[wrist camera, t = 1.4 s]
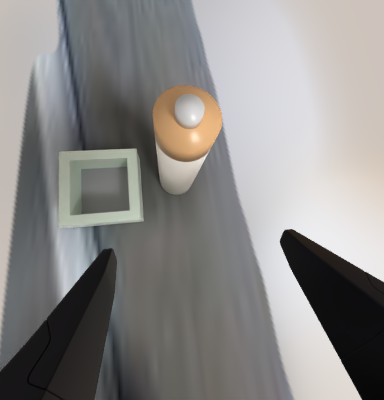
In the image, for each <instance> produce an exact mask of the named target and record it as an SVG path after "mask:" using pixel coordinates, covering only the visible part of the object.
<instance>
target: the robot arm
mask: <svg viewBox="0 0 384 400" xmlns="http://www.w3.org/2000/svg"><path fill="white" fill-rule="evenodd" d="M280 244H281V247H282V249H283V252H284V254H285V256H286V259H287V261H288V263H289V266H290V268H291V270H292V272H293V274H294V276H295V277H296V279H297V281H298V283H299V285H300V287H301V289H302V290H303V292H304V294H305V296H306V297H307V299H308V301H309V303H310V305H311V307H312V308H313V310H314V312H315V314H316V316H317V318H318V320H319V321H320V323H321V325H322V327H323V329H324V331H325V332H326V334H327V336H328V338H329V340H330V341H331V343H332V345H333V347H334V349H335V351H336V352H337V354H338V356H339V358H340V359H341V362H342V364H343V365H344V367H345V369H346V371H347V373H348V374H349V376H350V378H351V380H352V382H353V384H354V385H355V387H356V389H357V391H358V393H359V395H360V396H361V398H362V400H384V282H382V281H381V280H379V279H377V278H375V277H373V276H372V275H370V274H369V273H367V272H364V271H363V270H361V269H360V268H358V267H356V266H355V265H353V264H351V263H350V262H347V261H346V260H344V259H343V258H341V257H339V256H338V255H336V254H334V253H332V252H331V251H329V250H327V249H326V248H324V247H322V246H320V245H318V244H317V243H315V242H314V241H312V240H310V239H308V238H307V237H305V236H303V235H301V234H300V233H298V232H296V231H295V230H292V229H289V230H285V231H284V232H283V234H282V237H281V239H280ZM116 267H117V260H116V256H115V253H114V250H113V249H112V248H109V249H104V250H102V252H101V253H100V254H99V255H98V257H97V258H96V259H95V260H94V261H93V263H92V264H91V265H90V266H89V268H88V269H87V270H86V271H85V272H84V274H83V275H82V276H81V277H80V279H79V280H78V281H77V282H76V283H75V285H74V286H73V287H72V288H71V290H70V291H69V292H68V293H67V294H66V296H65V297H64V298H63V299H62V301H61V302H60V303H59V304H58V305H57V307H56V308H55V309H54V310H53V312H52V313H51V314H50V315H49V316H48V318H47V320H45V321H44V322H43V324H42V325H41V326H40V327H39V329H38V330H37V331H36V332H35V333H34V335H33V336H32V337H31V338H30V339H29V340H28V342H27V343H26V344H25V345H24V346H23V347H22V348H21V349H20V351H19V352H18V353H17V354H16V355H15V356H14V357H13V358H12V359H11V360H10V362H9V363H8V364H7V365H6V366H5V367H4V368H3V369H2V370H1V371H0V400H94V398H95V393H96V387H97V382H98V377H99V372H100V367H101V362H102V356H103V351H104V346H105V341H106V336H107V331H108V325H109V320H110V315H111V310H112V305H113V299H114V293H115V280H116Z"/></svg>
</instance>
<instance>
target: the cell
mask: <svg viewBox="0 0 384 400" xmlns="http://www.w3.org/2000/svg"><path fill="white" fill-rule="evenodd" d="M153 123H154V132H155V141H156V150H157V159H158V168H159V177H160V183H161V186H162V188H163V189H164V190H165V191H166V192H167V193H169V194H172V195H181V194H183V193H185V192H187V191H188V190H189V188H190V187H191V185H192V183H193V181H194V179H195V177H196V175H197V174H198V172H199V170H200V168H201V166H202V164H203V162H204V160H205V158H206V156H207V155H208V153H209V151H210V149H211V147H212V145H213V143H214V141H215V139H216V137H217V135H218V134H219V132H220V129H221V125H222V114H221V110H220V108H219V106H218V104H217V102H216V101H215V100H214V98H213V97H212V96H211V95H210V94H208V93H207V92H205V91H204V90H202V89H200V88H197V87H194V86H187V85H182V86H176V87H172V88H170V89H168V90H166V91H165V92H163V93H162V94H161V95H160V96H159V98H158V99H157V101H156V103H155V105H154V108H153Z"/></svg>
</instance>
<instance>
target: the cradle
mask: <svg viewBox="0 0 384 400" xmlns="http://www.w3.org/2000/svg"><path fill="white" fill-rule="evenodd" d="M142 221H144V216H143V200H142V184H141V169H140V158H139V155H138V152H137V149H113V150H87V151H61V152H59V218H58V227H66V228H78V227H89V226H100V225H110V224H121V223H132V222H142Z"/></svg>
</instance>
